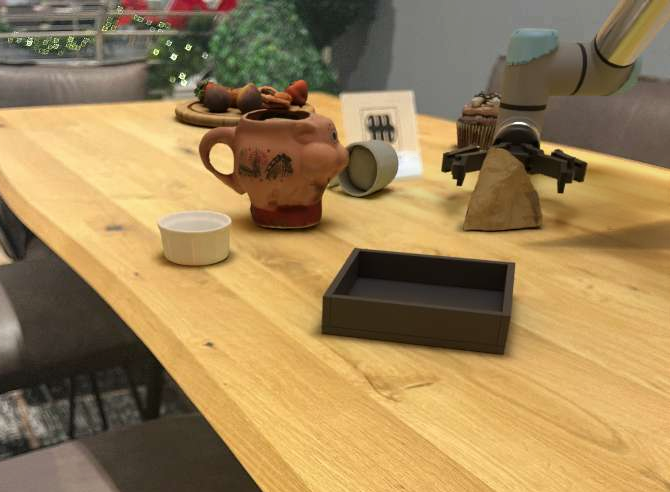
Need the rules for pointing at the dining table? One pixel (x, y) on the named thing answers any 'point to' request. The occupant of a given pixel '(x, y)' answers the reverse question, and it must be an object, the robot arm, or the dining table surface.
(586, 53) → the robot arm
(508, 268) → the tray
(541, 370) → the dining table surface
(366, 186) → the ceramic mug
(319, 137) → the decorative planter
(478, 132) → the cupcake
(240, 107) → the wooden plate
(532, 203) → the rock
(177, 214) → the ramekin
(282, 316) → the dining table surface
